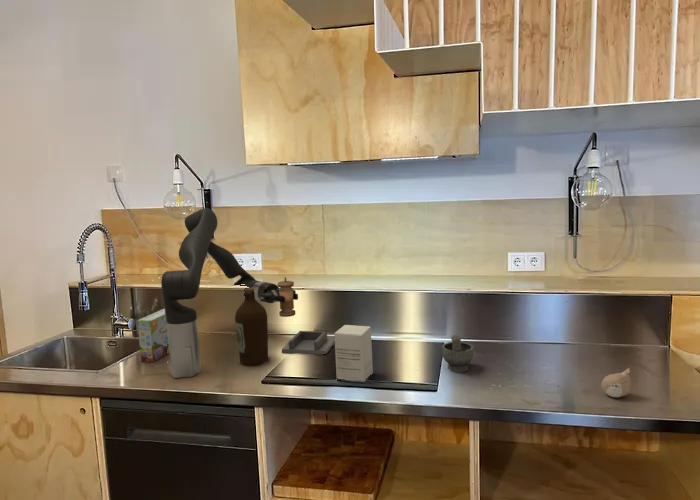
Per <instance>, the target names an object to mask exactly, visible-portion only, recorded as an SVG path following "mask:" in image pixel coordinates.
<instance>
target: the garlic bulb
mask: <svg viewBox="0 0 700 500" xmlns="http://www.w3.org/2000/svg"><path fill="white" fill-rule="evenodd" d="M630 371H631V369H630V367H628V368H626V369H625V370H623V371H622V372H616V373H610V374H608V375H606V376H604V378H603V379H602V381H601V384H600V385H601V386H600V387H601V390H603V392H604V394H606V395H608V396H609V397H612V398H621V397H625V396H627V395H628V394H629V393H630V390H631V382H632V381H631V380H632V379H631V377H630V375H629V374H630Z"/></svg>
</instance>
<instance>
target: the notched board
mask: <svg viewBox="0 0 700 500" xmlns="http://www.w3.org/2000/svg"><path fill="white" fill-rule="evenodd" d="M332 346H333V347H334V346H335V337H328V331H318V330H317V331H316V330H315V331H314V330H299V331H298V332H297V333H296V334H295V335H294V336H292V338H291V339H289V340H288V343H287V344H286V345H284V346H283V347H282V348H281V354H287V355H288V354H290V355H291V354H293V353H294V354H293V355H296V354H295V353H300V354H299V355H313V354H326V353H327V352H328V351H329V352H330V350H331V349H332V348H331V347H332ZM330 348H331V349H330ZM301 353H302V354H301ZM327 354H328V353H327ZM327 354H326V355H327Z"/></svg>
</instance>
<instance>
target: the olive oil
mask: <svg viewBox="0 0 700 500" xmlns="http://www.w3.org/2000/svg"><path fill="white" fill-rule="evenodd" d="M244 291H245V293H244V296H245V299H243V300H244V301H243V302H242V303H241V305H240V306H238V308H237V309H236V311H235V315H234V323H235V324H234V325H235V329H236V330H235V331H236V339H237V346H238V347H237V348H238V352H239V353H238V356H239V363H240V364H241V365H242V366H246V367H247V366H249V367H253V366H254V367H255V366H259V365H263V364H265V363H267V362H268V361H269V345H268V313H267V310H266V308H265V307H264V306H263V305H262V304H261V303H260V302H258V300H257V299H255V292H254V288H245V289H244Z"/></svg>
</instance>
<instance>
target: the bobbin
mask: <svg viewBox="0 0 700 500" xmlns="http://www.w3.org/2000/svg"><path fill="white" fill-rule="evenodd" d="M294 285H295V282H294V281H292V280H287V277H286V276H285V277H284V280H282V281H278V282H277V286H278V287H279V295H280V296H284V297H285V302H284V303H282V302H279V309H280V311H279V313H278V314H279V316H280V317H283V318H284V317H285V318H288V317H289V318H290V317H294V316H296V310H294V308H295V302H294V299H293V290H294V288H293V287H294Z"/></svg>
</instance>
